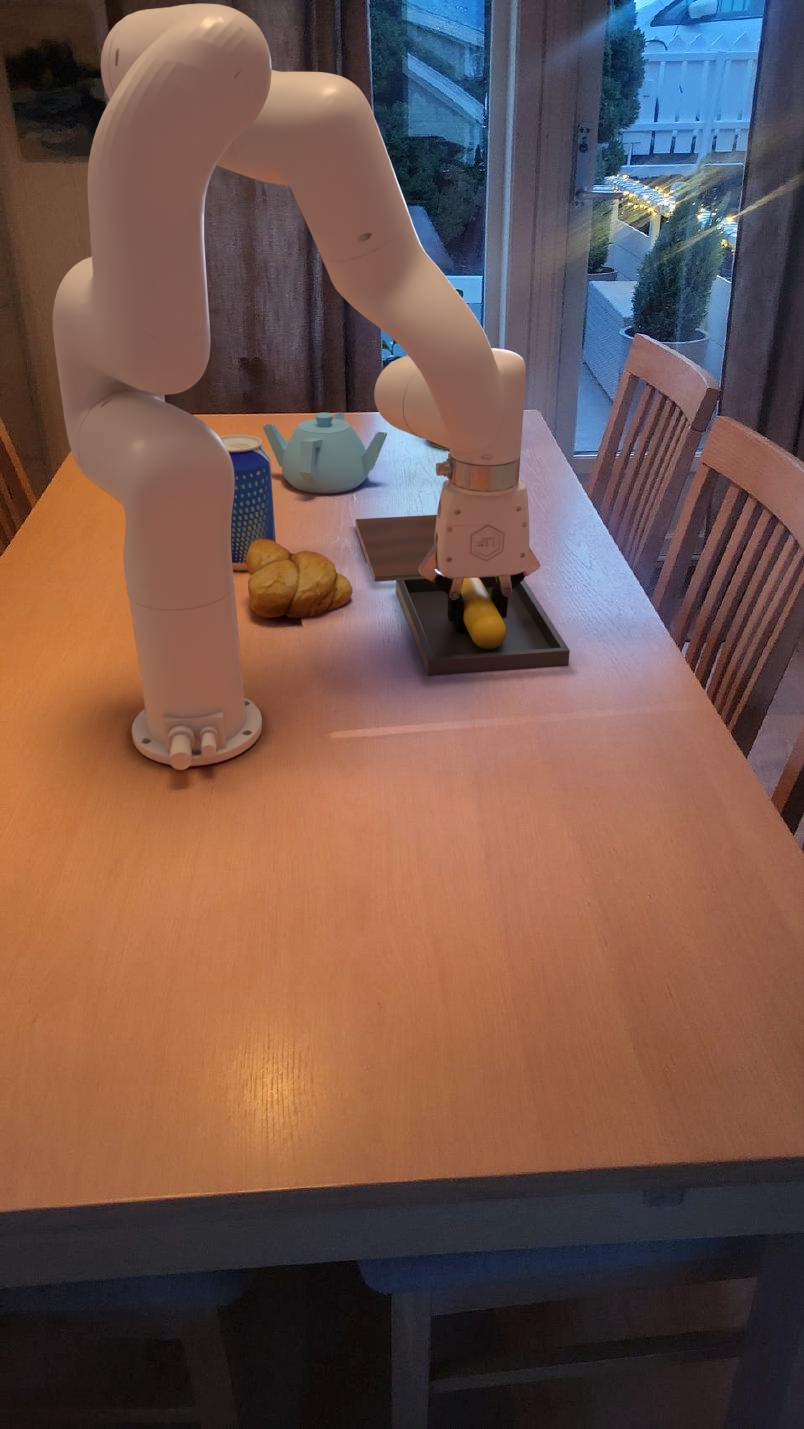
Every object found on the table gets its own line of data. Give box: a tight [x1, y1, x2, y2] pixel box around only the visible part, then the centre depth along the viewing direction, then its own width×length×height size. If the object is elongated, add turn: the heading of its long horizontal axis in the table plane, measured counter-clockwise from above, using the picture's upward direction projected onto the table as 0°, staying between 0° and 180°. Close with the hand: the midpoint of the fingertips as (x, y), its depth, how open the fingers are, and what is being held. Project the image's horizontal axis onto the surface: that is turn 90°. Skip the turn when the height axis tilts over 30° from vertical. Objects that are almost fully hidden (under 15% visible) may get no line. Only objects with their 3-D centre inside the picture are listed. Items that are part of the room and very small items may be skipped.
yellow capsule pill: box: [461, 578, 506, 649], centre depth 119 cm, size 15×4×4 cm, turn 9°
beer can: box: [219, 434, 277, 571], centre depth 133 cm, size 8×8×16 cm
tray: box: [395, 576, 571, 677], centre depth 119 cm, size 22×16×3 cm
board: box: [354, 514, 440, 582], centre depth 140 cm, size 20×18×2 cm
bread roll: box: [246, 538, 353, 619], centre depth 123 cm, size 13×10×8 cm
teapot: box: [262, 411, 388, 495], centre depth 162 cm, size 15×15×11 cm
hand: (476, 623), depth 120 cm, fingers closed on yellow capsule pill, 4 cm apart
